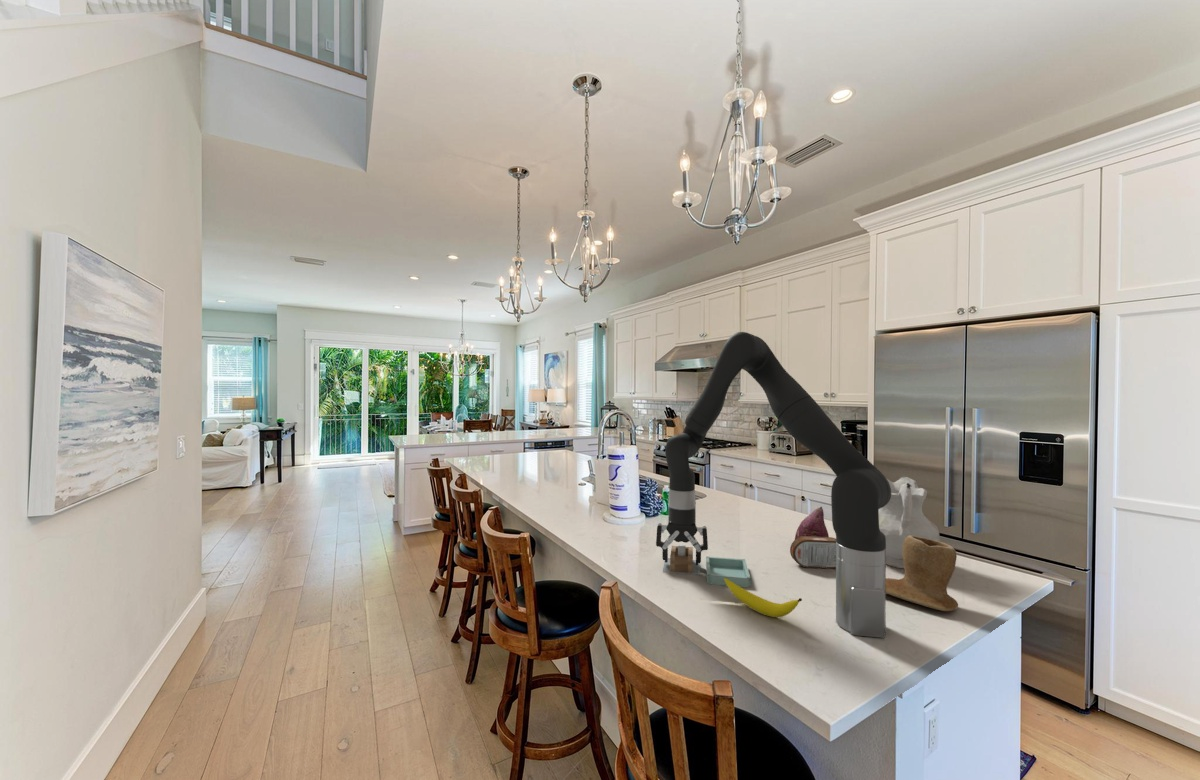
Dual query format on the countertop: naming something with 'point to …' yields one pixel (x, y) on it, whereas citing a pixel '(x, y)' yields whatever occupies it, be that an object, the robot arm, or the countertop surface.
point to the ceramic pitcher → (904, 519)
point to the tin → (814, 552)
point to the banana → (761, 602)
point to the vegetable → (813, 525)
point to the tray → (727, 571)
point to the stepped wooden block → (681, 560)
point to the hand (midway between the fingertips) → (681, 562)
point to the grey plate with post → (682, 553)
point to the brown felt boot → (925, 574)
